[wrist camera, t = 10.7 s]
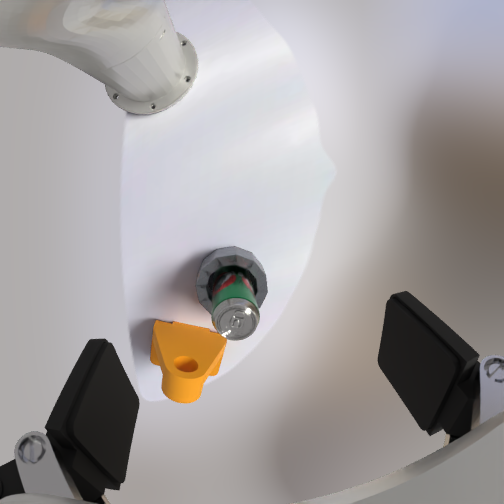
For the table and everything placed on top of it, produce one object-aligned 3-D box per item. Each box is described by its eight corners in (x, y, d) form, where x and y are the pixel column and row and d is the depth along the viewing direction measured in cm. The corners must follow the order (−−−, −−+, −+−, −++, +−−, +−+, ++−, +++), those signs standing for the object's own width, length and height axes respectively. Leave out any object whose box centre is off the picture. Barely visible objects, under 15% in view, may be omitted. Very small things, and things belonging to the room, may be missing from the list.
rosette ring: (192, 252, 38) (190, 261, 35) (259, 242, 39) (262, 250, 35) (205, 310, 41) (204, 323, 38) (266, 301, 42) (270, 313, 38)
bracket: (152, 353, 43) (138, 405, 31) (156, 317, 41) (139, 368, 29) (216, 366, 45) (217, 420, 33) (226, 331, 43) (229, 385, 31)
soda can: (209, 289, 40) (206, 338, 29) (218, 256, 39) (218, 296, 27) (243, 297, 41) (252, 347, 30) (254, 265, 40) (267, 307, 28)
